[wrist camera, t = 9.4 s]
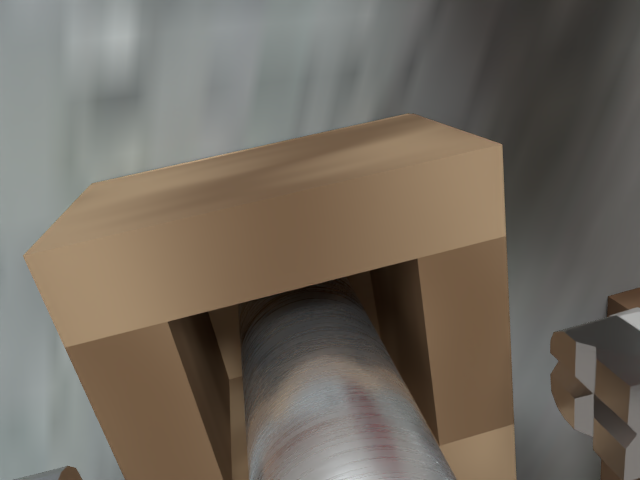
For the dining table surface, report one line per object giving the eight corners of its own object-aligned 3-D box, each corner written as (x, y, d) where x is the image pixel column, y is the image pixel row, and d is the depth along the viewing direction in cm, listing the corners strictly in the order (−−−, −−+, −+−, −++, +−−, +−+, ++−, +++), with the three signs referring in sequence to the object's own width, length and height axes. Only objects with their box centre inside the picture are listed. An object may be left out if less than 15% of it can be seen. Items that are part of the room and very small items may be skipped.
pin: (337, 230, 12) (573, 608, 4) (354, 326, 13) (569, 777, 5) (224, 257, 12) (232, 722, 4) (251, 353, 13) (303, 876, 5)
